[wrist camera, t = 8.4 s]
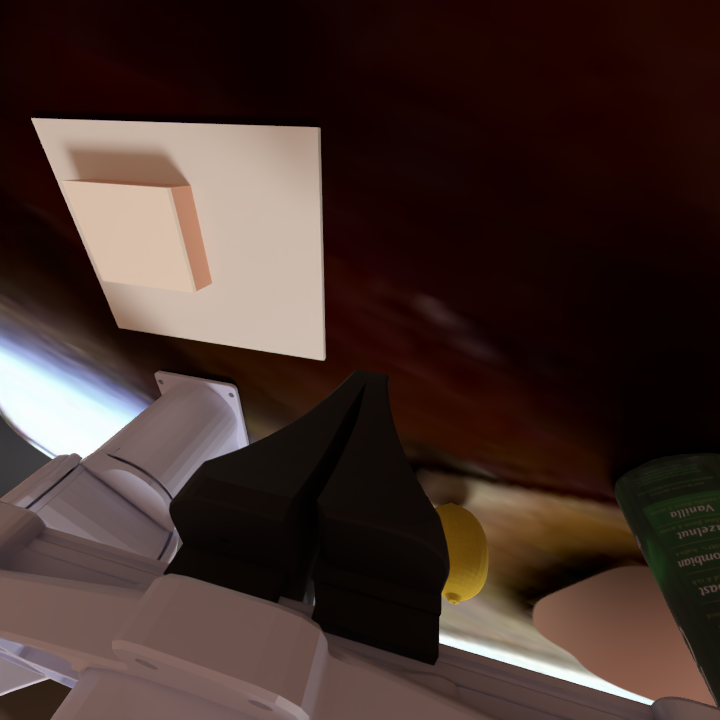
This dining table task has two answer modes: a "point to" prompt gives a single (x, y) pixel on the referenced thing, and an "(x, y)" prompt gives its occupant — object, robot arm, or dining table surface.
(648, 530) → the coffee jar
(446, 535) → the lemon
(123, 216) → the tile
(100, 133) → the mat
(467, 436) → the dining table surface
